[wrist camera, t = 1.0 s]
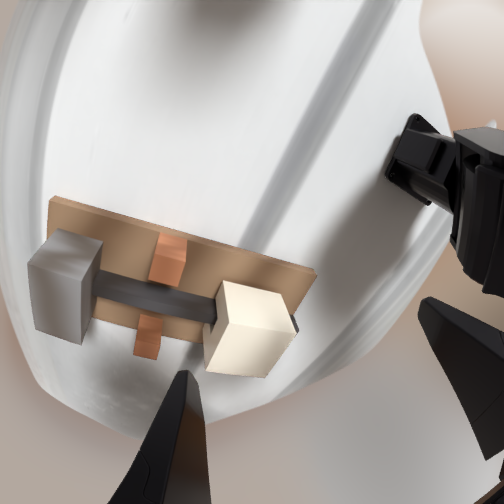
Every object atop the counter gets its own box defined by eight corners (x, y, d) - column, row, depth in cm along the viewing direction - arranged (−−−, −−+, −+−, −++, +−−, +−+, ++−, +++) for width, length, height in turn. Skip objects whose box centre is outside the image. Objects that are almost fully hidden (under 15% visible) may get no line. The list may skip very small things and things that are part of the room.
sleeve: (280, 294, 23) (296, 333, 19) (255, 338, 25) (265, 377, 21) (223, 280, 21) (229, 322, 17) (202, 328, 23) (205, 371, 20)
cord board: (313, 269, 24) (340, 315, 19) (266, 346, 28) (279, 393, 23) (54, 195, 17) (14, 230, 12) (51, 296, 21) (28, 341, 16)
